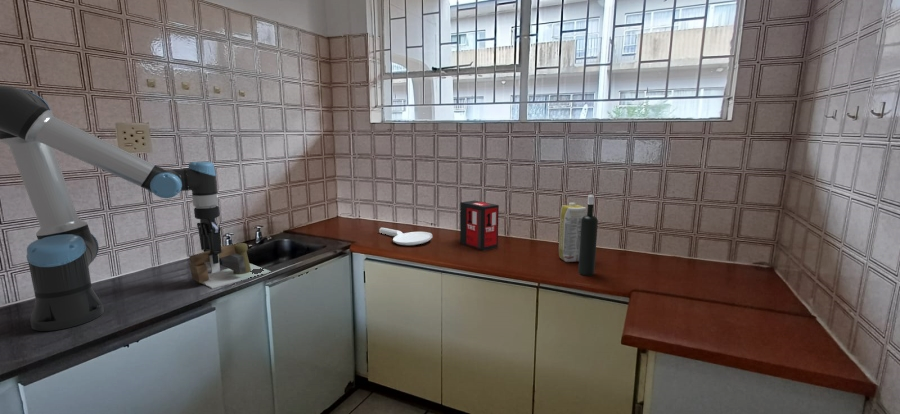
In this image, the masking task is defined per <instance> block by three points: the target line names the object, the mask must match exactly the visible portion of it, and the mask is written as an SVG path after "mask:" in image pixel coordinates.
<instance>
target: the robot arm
mask: <svg viewBox="0 0 900 414" xmlns="http://www.w3.org/2000/svg"><path fill="white" fill-rule="evenodd" d="M0 142H1V143H3V144H4V145H7V146H8V147H9V149H10V151H11V154H12V157H13V159H14V161H15V165H16V167H17V170H18V173H19V175H20V178H21V180H22V183H23V186H24V188H25V190H26V193H27V196H28V198H29V200H30V203H31V206H32V208H33V210H34V211H33V212H34V213H35V216H36V219H37V221H38V224H39V226H40V227H39V229H38V231H37V232H36V233H35V236H36V238H37V239H36V240H33V242H30V243H29V244H28V246H27V247H26V261H27V262H28V267H29V272H30V276H31V282H32V288H33V291H34V298H35V301H34V304H33V308H32V312H31V316H30V326H31V329H33V330H34V331H38V332H49V331H50V332H51V331H58V330H63V329H69V328H73V327H77V326H80V325H84V324H86V323H90V321H94V320H96V319H97V318H99V317H100V316H102V315H103V314H104V310H105V309H104V304H103V302H102V300H101V299H100V298H99V296H98V295H97V293H96V292H95V290H94V289H93V287H92V280H91V274H90V268H89V267H90V265H91V264H92V262H94V260H95V259H96V257H97V256H98V253H99V250H100V249H99V247H100V246H99V243H98V242H99V241H98V240H97V238H96V237H95V235H93V233H91V230H90V228H89V224H88V222H87V221H85V220H81V219H80V218H79V215H78V213H77V209H76V207H75V205H74V203H73V199H72V196H71V193H70V191H69V188H68V185H67V183H66V180H65V177H64V174H63V172H62V171H63V170H62V168H61V166H60V164H59V161H58V157H57V155H56V152H55V150H57V151H59V152H61V153H64V154H66V155H68V156H71V157H73V158H75V159H77V160H79V161H82V162H84V163H86V164H88V165H91V166H93V167H95V168H98V169H99V170H102V171H105V172H106V173H109V174H112V175H113V176H116V177H118V178H121V179H122V180H125V181H127V182H130V183H132V184H133V185H136V186H139V187H141V188H142V189H145V190H146V191H148V192H149V193H152V194H154V195H155V197H158V198H161V199H171V198H174V197H175V196H177V195H178V194H180V192H188V191H191V197H192V206H193V207H194V208H193V212H194V218H195V219H196V220H199V222H197V223H196V226H197V230H198V235H199V236H198V237H199V242H200V249H201V251H202V252H206V251H209V250H210V254H208V255H209V257H210V261H209V262H206V263H205V264H206V267H207V272H209V271H210V273H215V272H218V271H221V265H220V258H219V255H218V254H219V253H221V247H222V240H221V229H222V227H221V226H219V225H218V224H217V222H216V218H219V216H220V207H219V206H218V205H219V197H220V196H219V195H218V188H217V187H218V186H217V175H216V168H215V163H212V161H194V162H193V161H192V162H189V163H188V167H187V168H166V169H165V168H162V167H160V166H158V165H155V164H154V163H151V162H149V161H147V160H146V159H144V158H141V157H139V156H137V155H135V154H132V153H131V152H128V151H126V150H124V149H122V148H120V147H118V146H116V145H113V144H112V143H110V142H108V141H106V140H103V139H101V138H99V137H97V136H95V135H94V134H92V133H89V132H87V131H84V130H83V129H81V128H79V127H76V126H74V125H72V124H70V123H68V122H66V121H64V120H62V119H60V118H58V117H56V116H54V114H53V111H52V110H51V107H50V106H49V104H48V103H47V102H46V101H45V100H44V99H43V98H42V97H41V96H39V95H38V94H36V93H34V92H33V91H32V92H31V91H29V90H26V89H24V88H23V89H22V88H16V87H13V86H9V85H0Z"/></svg>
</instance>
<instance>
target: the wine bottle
mask: <svg viewBox="0 0 900 414" xmlns="http://www.w3.org/2000/svg"><path fill="white" fill-rule="evenodd" d="M594 203H595V194H588V195H587V208H586V216H584V217H583V218H582V220H581V236H580V253H579V261H578V274H579V275H581V276H586V277H589V276H590V277H591V276H594V275H595V270H596V269H595V268H596V256H597V255H596V254H597V239H598V225H599V224H598V223H599V220H598V218H597V217H596V216H595V215H593V214H594Z"/></svg>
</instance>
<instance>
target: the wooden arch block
mask: <svg viewBox="0 0 900 414" xmlns="http://www.w3.org/2000/svg"><path fill="white" fill-rule="evenodd" d="M208 254H210V250H209V251H206V252H204V251H202V252H199V253H196V254H192V255H189V256H188V257H189V262H190V263H188V264H189V268H190V272H191V273H190V274H191V277H192V280H193V281H196V283H199V284H202V282H205V281H208V280H209V277H208V274H209V273H208V272H209V271H207V267H206V262H209V261H210V257H209V255H208ZM218 255H219V259H220V260H221V265H222V267H224V268H226V269H231V270H234V271H236V272H238V273H243V272H246V269H245V264H244V259H243V256H242V255H239V254H236V252H235V247H234V244H227V245H223V246H221V253H219V254H218Z"/></svg>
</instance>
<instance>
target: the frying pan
mask: <svg viewBox="0 0 900 414" xmlns="http://www.w3.org/2000/svg"><path fill="white" fill-rule="evenodd" d="M378 230H379V231H378V232H379V234H381V233H382V235H385V234H386V236H390V237H392V238H393V239H392V243H395V244H397V245H400V246H416V245H420V244H421V245H422V244H425V243H427V242H429V241H431V239H433V234H432V232H429V231H428V232H427V231H411V232H404V233H403V232H402V231H401V230H397V229H392V228H387V227H380V228H379V229H378Z"/></svg>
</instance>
